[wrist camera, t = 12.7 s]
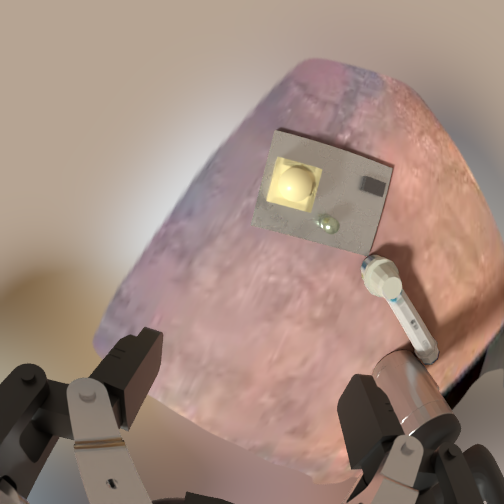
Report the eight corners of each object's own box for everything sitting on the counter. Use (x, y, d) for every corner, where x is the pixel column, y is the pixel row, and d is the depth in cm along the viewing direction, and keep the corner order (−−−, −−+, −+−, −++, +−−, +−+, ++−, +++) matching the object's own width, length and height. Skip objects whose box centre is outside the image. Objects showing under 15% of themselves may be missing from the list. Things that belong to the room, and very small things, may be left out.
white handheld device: (424, 372, 38) (370, 290, 31) (409, 350, 44) (351, 268, 37) (446, 353, 37) (401, 262, 30) (429, 333, 43) (378, 244, 36)
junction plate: (389, 168, 34) (409, 167, 28) (365, 254, 37) (381, 267, 31) (274, 131, 34) (276, 121, 28) (251, 224, 37) (248, 232, 31)
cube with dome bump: (313, 171, 34) (323, 168, 27) (303, 207, 35) (311, 213, 29) (275, 160, 34) (278, 156, 27) (266, 197, 35) (266, 201, 29)
